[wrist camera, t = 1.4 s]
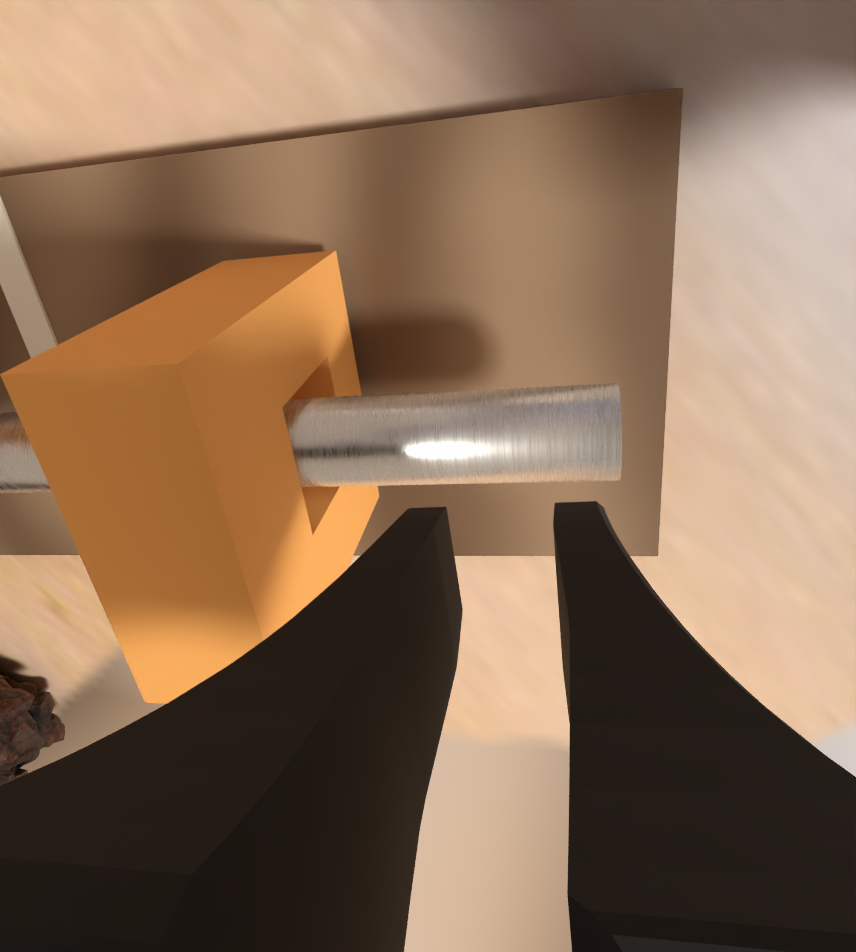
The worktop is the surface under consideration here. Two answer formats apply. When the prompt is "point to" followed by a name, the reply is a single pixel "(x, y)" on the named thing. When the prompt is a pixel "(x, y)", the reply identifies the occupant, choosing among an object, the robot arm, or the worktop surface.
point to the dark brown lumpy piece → (24, 726)
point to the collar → (199, 460)
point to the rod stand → (401, 305)
